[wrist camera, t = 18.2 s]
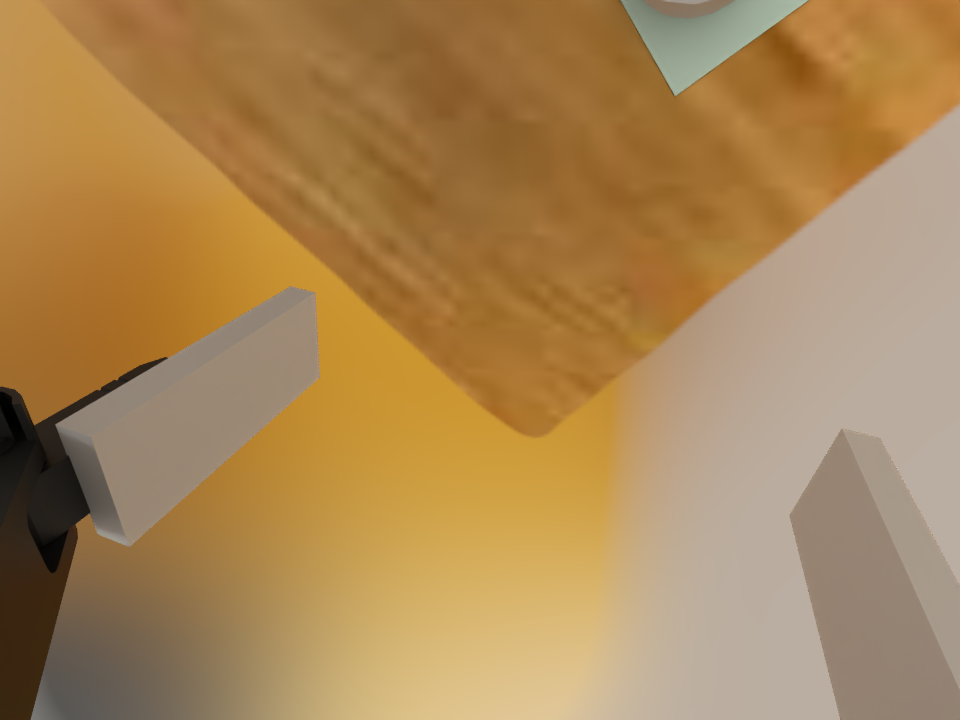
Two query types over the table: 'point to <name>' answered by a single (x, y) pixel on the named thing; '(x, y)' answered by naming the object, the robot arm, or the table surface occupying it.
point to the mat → (703, 35)
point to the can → (687, 7)
